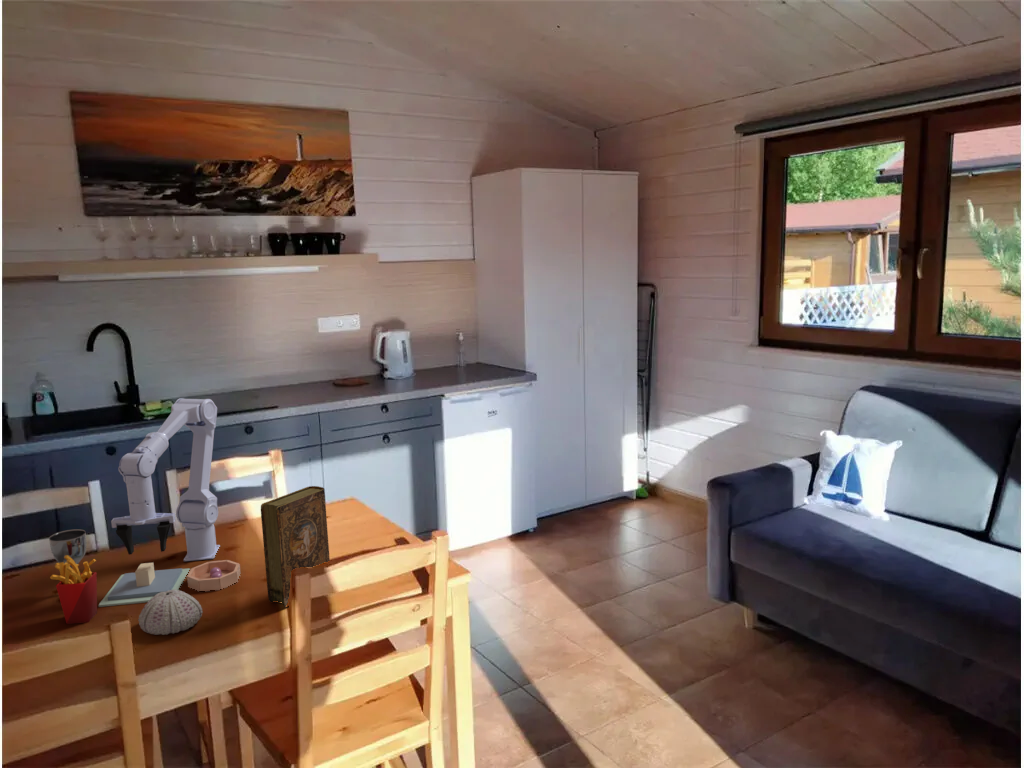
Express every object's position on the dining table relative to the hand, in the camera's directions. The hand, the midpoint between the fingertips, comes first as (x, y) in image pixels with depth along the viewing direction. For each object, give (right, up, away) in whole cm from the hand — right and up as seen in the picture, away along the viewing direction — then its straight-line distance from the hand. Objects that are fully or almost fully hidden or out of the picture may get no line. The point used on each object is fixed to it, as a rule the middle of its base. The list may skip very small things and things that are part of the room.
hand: (147, 551), depth 196 cm
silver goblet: (-18, -10, 0) cm, 21 cm away
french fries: (-9, -13, -16) cm, 22 cm away
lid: (-1, -9, +1) cm, 9 cm away
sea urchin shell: (+15, -13, -19) cm, 28 cm away
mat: (-1, -9, +1) cm, 9 cm away
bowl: (+16, -8, +4) cm, 18 cm away
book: (+41, -9, -5) cm, 42 cm away
